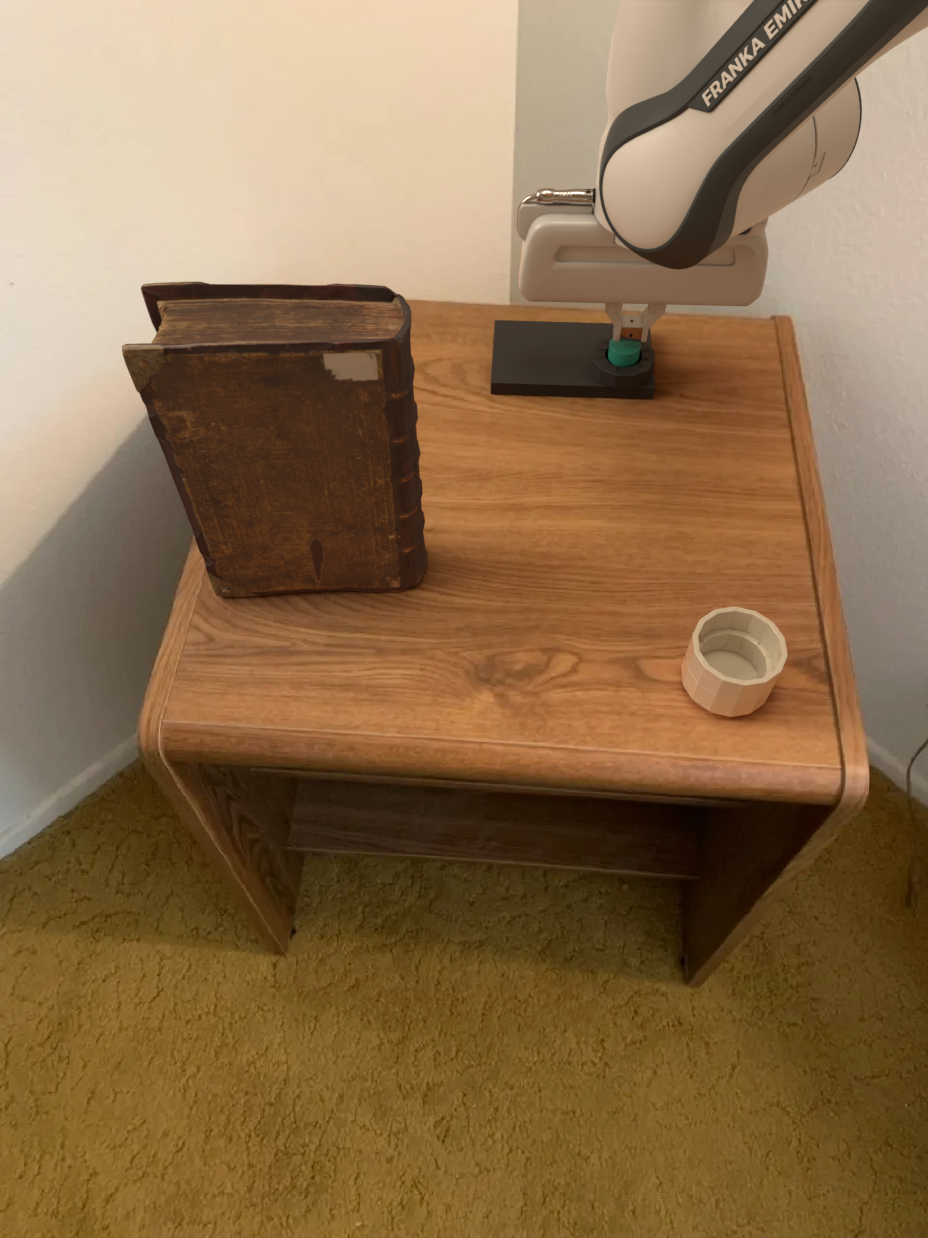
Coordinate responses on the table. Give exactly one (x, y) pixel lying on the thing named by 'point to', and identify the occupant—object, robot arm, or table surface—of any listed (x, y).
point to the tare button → (623, 353)
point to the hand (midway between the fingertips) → (629, 337)
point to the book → (288, 432)
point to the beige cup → (733, 661)
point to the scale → (566, 361)
